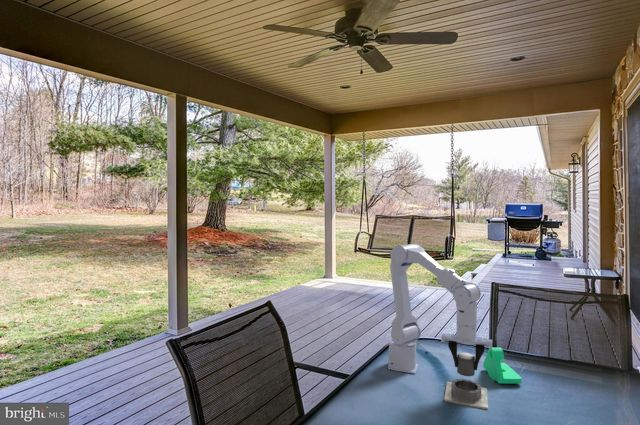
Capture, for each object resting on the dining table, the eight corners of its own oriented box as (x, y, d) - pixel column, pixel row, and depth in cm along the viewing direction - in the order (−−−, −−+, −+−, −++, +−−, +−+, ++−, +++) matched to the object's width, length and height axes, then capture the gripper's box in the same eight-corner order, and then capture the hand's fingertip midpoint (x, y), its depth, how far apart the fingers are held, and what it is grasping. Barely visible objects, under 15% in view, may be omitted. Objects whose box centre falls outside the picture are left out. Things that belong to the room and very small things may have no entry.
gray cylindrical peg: (457, 374, 117) (457, 357, 117) (457, 368, 122) (457, 351, 122) (474, 377, 116) (475, 360, 116) (474, 370, 120) (474, 353, 120)
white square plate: (444, 401, 115) (444, 391, 115) (446, 383, 126) (447, 373, 126) (488, 409, 111) (488, 398, 111) (487, 390, 122) (487, 380, 122)
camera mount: (522, 386, 124) (523, 355, 124) (498, 386, 124) (499, 355, 124) (505, 370, 136) (505, 341, 136) (483, 370, 136) (483, 341, 136)
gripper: (440, 324, 117) (440, 368, 118) (493, 330, 112) (492, 376, 112) (442, 317, 124) (441, 359, 124) (492, 323, 118) (491, 367, 119)
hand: (465, 367), depth 119 cm, fingers closed on gray cylindrical peg, 5 cm apart
